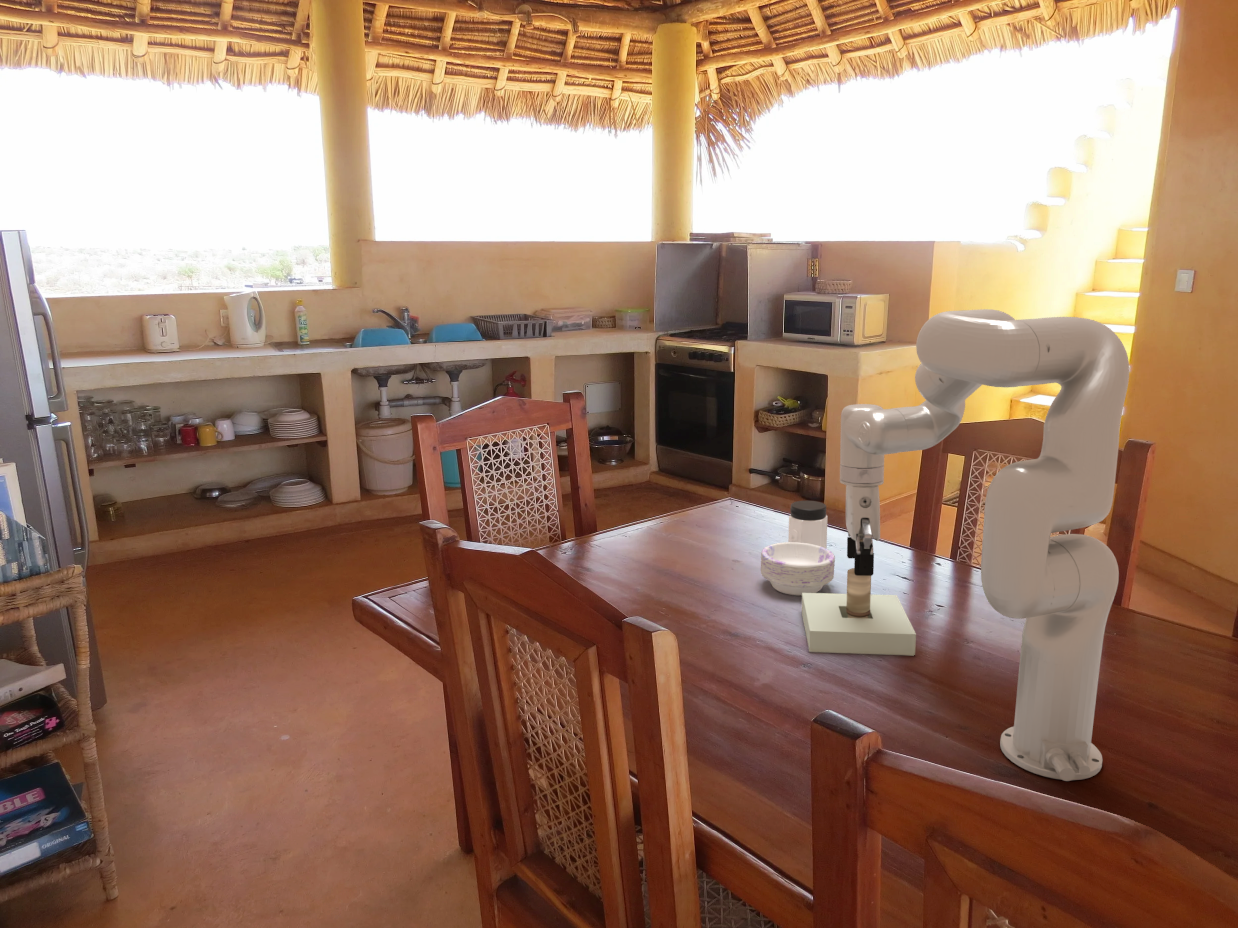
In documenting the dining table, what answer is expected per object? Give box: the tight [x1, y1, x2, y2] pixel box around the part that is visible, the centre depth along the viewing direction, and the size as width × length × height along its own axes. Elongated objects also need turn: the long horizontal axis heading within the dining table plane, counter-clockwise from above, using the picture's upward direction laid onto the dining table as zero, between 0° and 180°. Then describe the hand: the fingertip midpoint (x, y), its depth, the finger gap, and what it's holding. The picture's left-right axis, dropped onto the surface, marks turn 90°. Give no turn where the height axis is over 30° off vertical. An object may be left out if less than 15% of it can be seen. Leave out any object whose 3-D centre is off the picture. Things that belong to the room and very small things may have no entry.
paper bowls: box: [760, 541, 836, 597], centre depth 180 cm, size 15×15×8 cm
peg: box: [846, 567, 872, 618], centre depth 156 cm, size 4×4×12 cm
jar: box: [787, 500, 828, 549], centre depth 200 cm, size 9×8×12 cm
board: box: [801, 592, 917, 657], centre depth 158 cm, size 18×18×4 cm
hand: (859, 566), depth 155 cm, fingers open, 9 cm apart
